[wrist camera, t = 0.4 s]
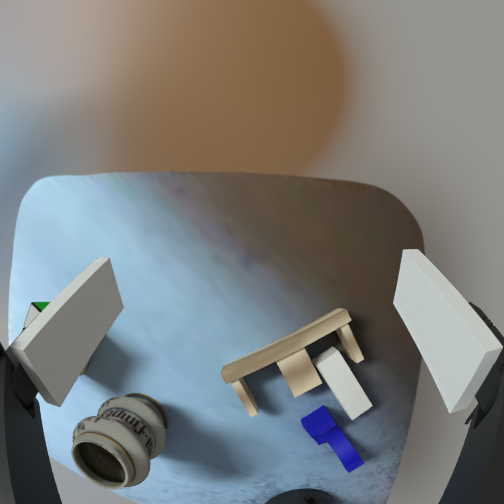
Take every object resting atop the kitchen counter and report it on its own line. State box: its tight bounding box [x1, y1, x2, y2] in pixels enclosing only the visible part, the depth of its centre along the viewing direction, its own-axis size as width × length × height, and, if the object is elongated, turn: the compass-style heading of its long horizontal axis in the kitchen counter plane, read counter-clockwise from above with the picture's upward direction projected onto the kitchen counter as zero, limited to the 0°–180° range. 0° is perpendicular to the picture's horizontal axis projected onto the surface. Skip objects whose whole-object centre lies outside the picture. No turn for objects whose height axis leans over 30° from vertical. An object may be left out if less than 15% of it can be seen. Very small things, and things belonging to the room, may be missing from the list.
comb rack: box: [220, 308, 364, 417], centre depth 42 cm, size 8×20×5 cm, turn 117°
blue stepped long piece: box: [301, 406, 364, 473], centre depth 39 cm, size 12×4×6 cm, turn 33°
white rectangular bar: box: [311, 346, 372, 420], centre depth 42 cm, size 12×4×4 cm, turn 33°
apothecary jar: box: [71, 393, 168, 490], centre depth 34 cm, size 12×12×18 cm
